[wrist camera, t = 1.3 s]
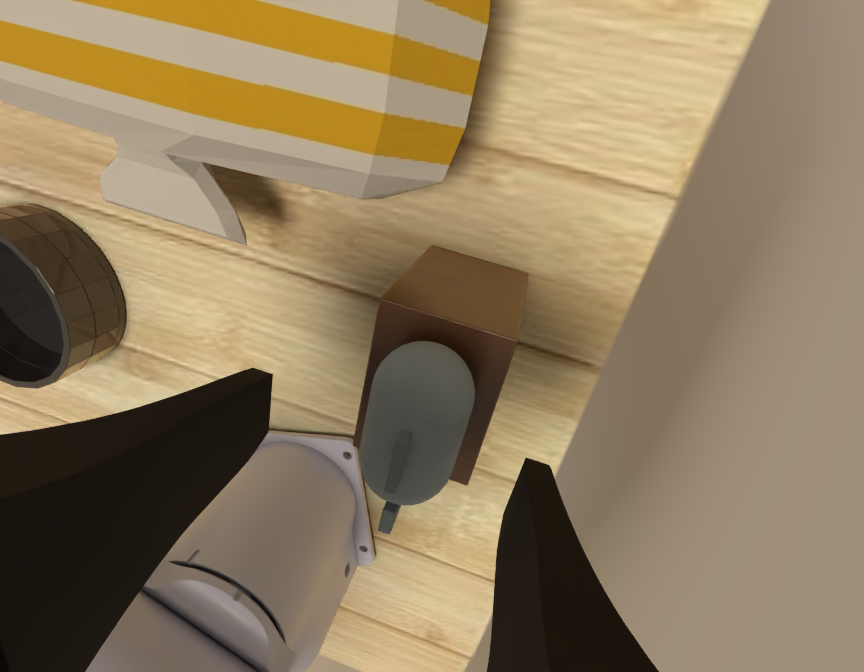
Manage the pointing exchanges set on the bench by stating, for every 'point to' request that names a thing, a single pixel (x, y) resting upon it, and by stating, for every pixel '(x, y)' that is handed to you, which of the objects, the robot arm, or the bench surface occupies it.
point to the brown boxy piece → (453, 330)
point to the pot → (53, 298)
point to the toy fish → (414, 424)
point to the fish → (250, 92)
